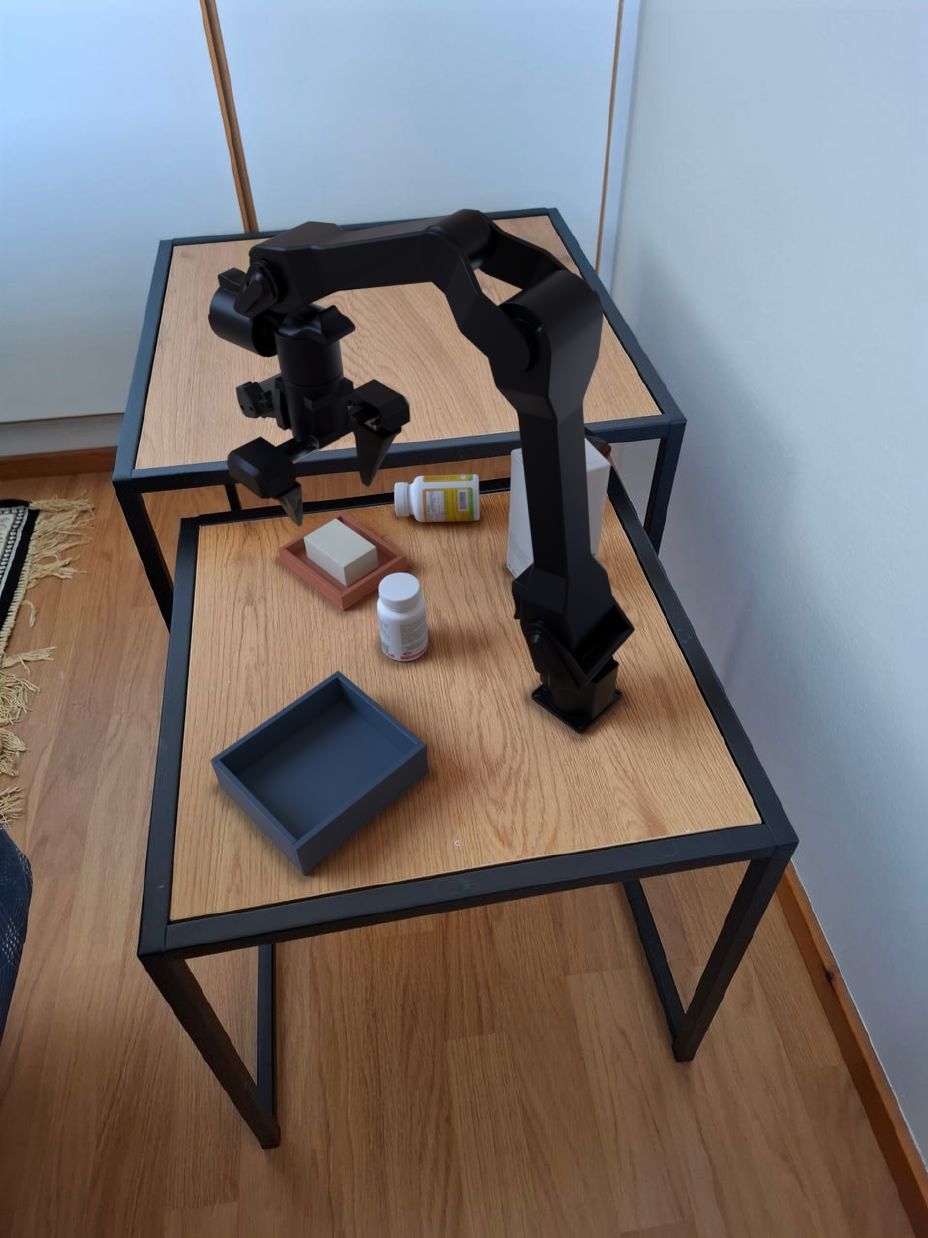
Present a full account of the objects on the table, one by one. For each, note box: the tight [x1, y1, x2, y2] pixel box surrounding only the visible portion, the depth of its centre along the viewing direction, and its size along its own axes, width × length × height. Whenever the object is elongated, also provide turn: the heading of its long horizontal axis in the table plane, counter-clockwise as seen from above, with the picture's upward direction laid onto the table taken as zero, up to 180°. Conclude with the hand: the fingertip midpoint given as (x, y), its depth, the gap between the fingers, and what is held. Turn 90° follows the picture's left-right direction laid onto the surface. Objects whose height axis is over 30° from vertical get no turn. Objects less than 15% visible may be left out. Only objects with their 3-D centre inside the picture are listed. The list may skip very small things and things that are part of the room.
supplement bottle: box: [393, 473, 481, 523], centre depth 102 cm, size 5×5×10 cm
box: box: [209, 670, 430, 876], centre depth 77 cm, size 12×14×4 cm
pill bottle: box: [376, 572, 429, 662], centre depth 87 cm, size 5×5×8 cm
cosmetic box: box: [506, 438, 612, 579], centre depth 91 cm, size 8×7×16 cm
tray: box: [277, 510, 408, 611], centre depth 97 cm, size 11×9×2 cm
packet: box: [304, 519, 378, 587], centre depth 97 cm, size 7×5×3 cm, turn 45°
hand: (332, 503), depth 92 cm, fingers open, 9 cm apart
